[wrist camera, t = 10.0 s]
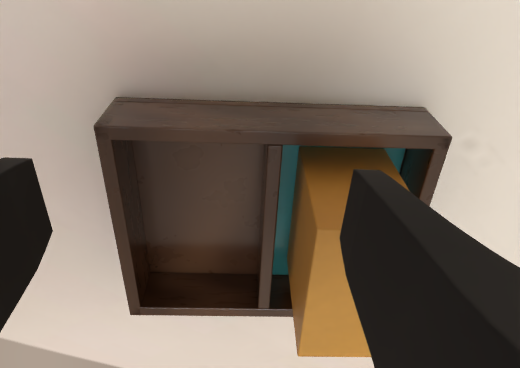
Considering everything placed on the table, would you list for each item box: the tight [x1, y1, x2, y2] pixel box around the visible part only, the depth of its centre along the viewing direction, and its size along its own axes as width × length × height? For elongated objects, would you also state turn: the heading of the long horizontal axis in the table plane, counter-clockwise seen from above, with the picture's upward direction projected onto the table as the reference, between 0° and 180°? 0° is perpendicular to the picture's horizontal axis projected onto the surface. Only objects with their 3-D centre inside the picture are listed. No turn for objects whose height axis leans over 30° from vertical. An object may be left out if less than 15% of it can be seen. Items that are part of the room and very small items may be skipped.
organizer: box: [94, 97, 452, 317], centre depth 20 cm, size 14×11×3 cm
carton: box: [287, 147, 409, 357], centre depth 18 cm, size 4×7×6 cm, turn 178°
